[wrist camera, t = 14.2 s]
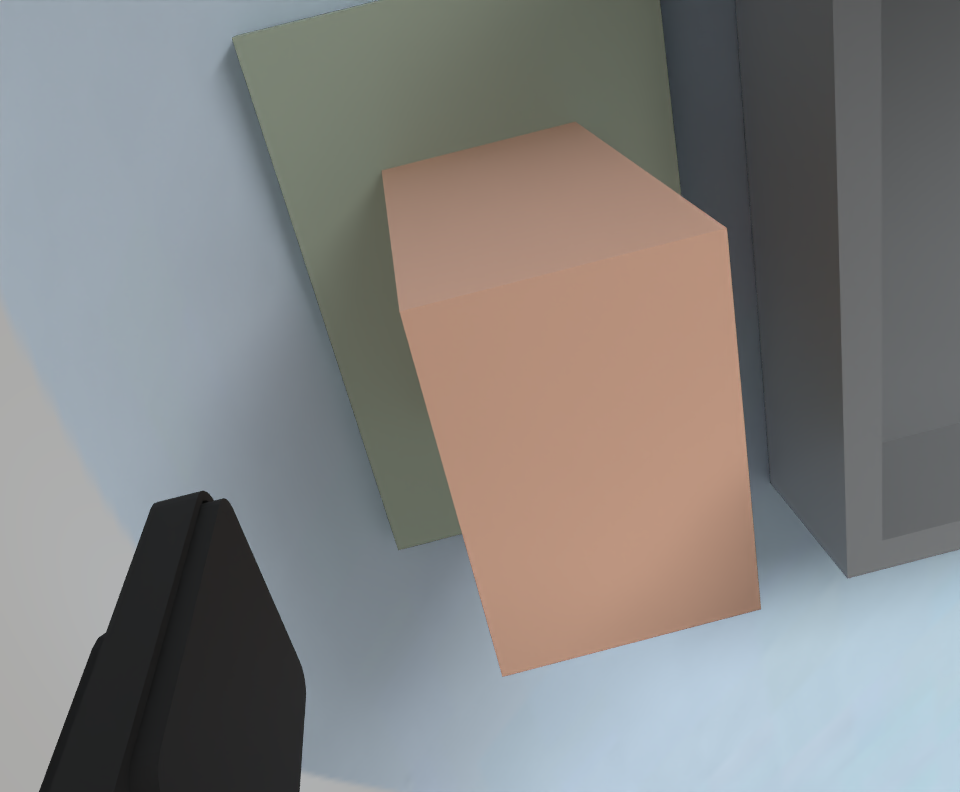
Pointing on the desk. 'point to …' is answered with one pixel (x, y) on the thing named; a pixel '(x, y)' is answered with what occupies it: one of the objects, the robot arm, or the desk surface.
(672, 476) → the block
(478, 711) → the desk surface
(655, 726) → the desk surface
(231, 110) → the desk surface
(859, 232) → the equipment case
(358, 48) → the olive mat
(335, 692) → the desk surface
